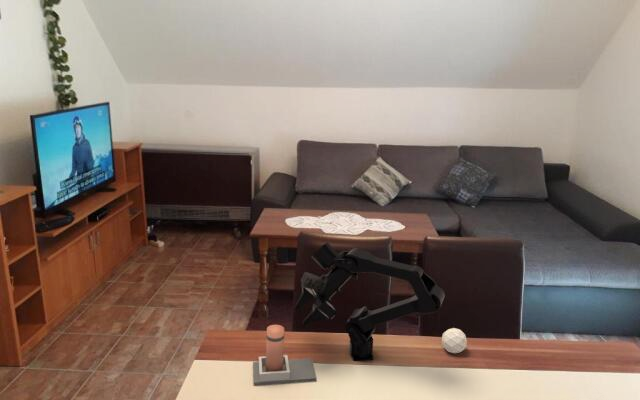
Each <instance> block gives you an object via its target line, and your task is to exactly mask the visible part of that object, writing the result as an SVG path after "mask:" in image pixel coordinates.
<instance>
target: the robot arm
mask: <svg viewBox="0 0 640 400" xmlns="http://www.w3.org/2000/svg"><path fill="white" fill-rule="evenodd" d="M311 258H312V259H313V260H314V261H315V262H316V263H317V264H318V265H319V266H320V267H321V269H323V270H325V271H326V270H327V269H328V270H330V269H331V268H332V267H333V266H334V267H333V268H332V269H331V270H330V271H329V272H328V273H327V274H324V273H323V274H321V275H320V276H318V275H315V274H313V273H311V272H307V271H304V273H303V276H302V277H301V279H300V283H301V286H300V287H301V293H300V295H299V298H298V300H297V302H296V303H295V305H294V310H295V311H298V310H300V309H302V308H303V307H304V306H307V304H309V303H310V302H312V303H313V304H312V309H311V311H310V312H309V313H308V314H307V315H306V317H305V318H304V319H303V320H302V322H301V323H302V325H303V326H307V325H310V324H313V323H314V322H315V323H316V322H319V321H322V320H325V319H326V320H328V319H329V320H333V318H334V317H335V316H336V315H337V314H336V312H337V311H336V308H334V306H333V305H332V304H331V302H332V299H331V298H332V297H333V296H334V295H335V294H336V293H337V294H340V293H341V290H340V289H341V288H342V287H343V286H344V285H345V284H346V282H348V281H349V280H350V279H351V278H352V279H353V280H354V281H357V280H358V274H364V273H375V274H378V275H382V276H386V277H390V278H393V279H397V280H402V281H405V282H409V283H410V285H411V288H412V289H413V291H414V294H415V295H413V296H412V297H408V298H406V299H403V300H400V301H397V302H395V303H391V304H387V305H386V306H382V307H380V308H376V309H373V310H370V309H368V307H367V305H365V306H363V307H362V308H355V310H354V311H353V312H352V314H351V315H350V317H349V318H348V319H347V321H346V323H345V325H344V328H345V332H346V333H347V334H348V337H349V345H348V346H349V347H348V349H349V354H350V356H351V358H352V360H353V362H356V361H357V362H359V361H360V362H361V361H373V360H374V359H375V358H374V355H373V353H374V352H373V348H374V338H373V334H374V332H375V330H376V326H378V325H381V324H385V323H388V322H390V321H394V320H397V319H400V318H403V317H405V316H406V317H407V316H410V315H412V314H422V315H426V314H433V313H436V312H438V311H439V310H440V309H441V307H442V304H443V301H444V300H445V296H446V295H445V291H444V290H443V288H441V286H439V285H437V283H436V281H434V279H433V278H432V277H430V276H429V275H428V274H427V273H426V272H425V271H424V269H422V267H421V266H419V265H411V264H406V263H403V262H398V261H394V260H389V259H385V258H380V257H377V256H375V255H374V254H372V253H371V252H370V251H367V250H365V249H362V248H359V247H354V248H352V249H351V250H346V251H345V250H343V251H341V252H339V253H338V252H337V251H336V250H335V249H334V248H333V247H332V246H331V245H330V243H329V242H327V241H325V243H324V244H322V245H321V246H320V247H319V248H318V249H317V250H316V251H315V252H313V254H312V255H311ZM314 300H315V303H314V302H313V301H314Z"/></svg>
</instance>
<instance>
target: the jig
mask: <svg viewBox="0 0 640 400" xmlns="http://www.w3.org/2000/svg"><path fill="white" fill-rule="evenodd" d="M288 357H289V356H288V354H283V371H275V372H266V355H265V356H263V355H262V356H258V361H253V362H252V365H253V366H252V370H253V371H252V373H253V374H252V376H253V379H252V380H253V386H255V387H256V386H266V385H283V384H294V383H295V384H296V383H297V384H298V383H308V382H309V383H313V382H317V376H316V375H317V374H316V371H315V366H314V361H313V358H312V357H309V358H295V359H294V358H293V359H289V358H288Z"/></svg>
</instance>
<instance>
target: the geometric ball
mask: <svg viewBox="0 0 640 400" xmlns="http://www.w3.org/2000/svg"><path fill="white" fill-rule="evenodd" d="M441 337H442V338H441V343H442V347H443V348H444V350H446V351H447V352H449V353H451V354H458V353H461V352H462V351H464V350H465V349H466V347H467V343H468V341H467V336H466V334H465V333H464V332H463V331H462V330H461V329H459V328H455V327H452V328H448V329H447V330H446V331H444V332H443V333H442V336H441Z"/></svg>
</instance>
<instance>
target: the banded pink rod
mask: <svg viewBox="0 0 640 400" xmlns="http://www.w3.org/2000/svg"><path fill="white" fill-rule="evenodd" d="M265 337H266V345H265V356H266V372H275V371H283V355H284V348H285V347H284V346H285V327H284V326H283V325H280V324H271V325H268V326H267V328H266V335H265Z"/></svg>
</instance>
